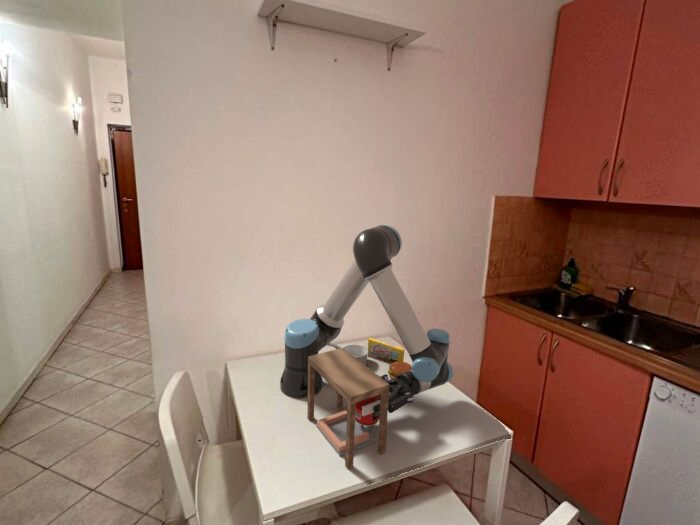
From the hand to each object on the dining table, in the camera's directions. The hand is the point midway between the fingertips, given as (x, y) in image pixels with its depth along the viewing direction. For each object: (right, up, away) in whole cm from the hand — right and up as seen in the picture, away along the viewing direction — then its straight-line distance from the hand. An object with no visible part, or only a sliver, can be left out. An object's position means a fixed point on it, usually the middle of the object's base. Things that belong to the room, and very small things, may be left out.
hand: (354, 403), depth 106 cm
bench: (-2, -10, +2) cm, 10 cm away
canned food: (+4, -6, +4) cm, 8 cm away
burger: (+18, -3, +35) cm, 39 cm away
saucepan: (-3, 0, +46) cm, 46 cm away
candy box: (+13, -1, +46) cm, 47 cm away
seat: (-2, -10, +2) cm, 10 cm away
